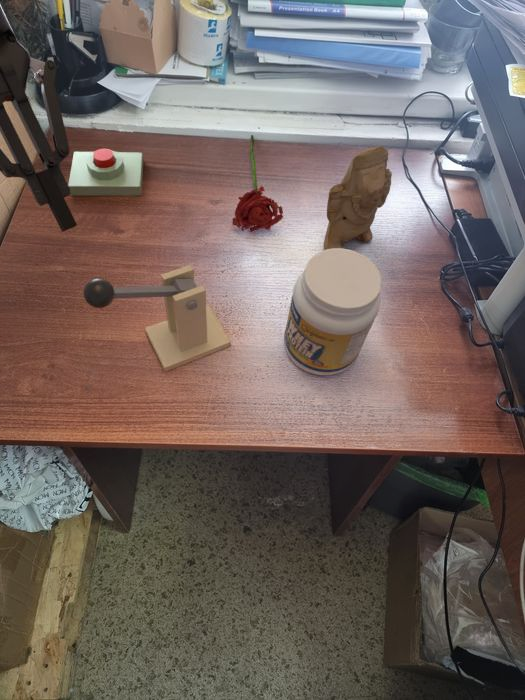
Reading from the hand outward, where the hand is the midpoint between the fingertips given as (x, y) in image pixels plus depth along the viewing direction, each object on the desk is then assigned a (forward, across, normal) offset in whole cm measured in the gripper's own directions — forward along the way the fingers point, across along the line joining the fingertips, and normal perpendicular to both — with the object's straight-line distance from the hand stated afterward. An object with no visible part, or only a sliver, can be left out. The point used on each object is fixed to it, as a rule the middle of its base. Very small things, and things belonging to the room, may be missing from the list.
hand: (69, 228), depth 59 cm
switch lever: (+11, +4, +3) cm, 13 cm away
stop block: (-7, +17, +40) cm, 44 cm away
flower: (+5, +42, +29) cm, 51 cm away
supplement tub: (+30, +28, +3) cm, 41 cm away
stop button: (-10, +17, +38) cm, 43 cm away
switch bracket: (+21, +11, +12) cm, 27 cm away
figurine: (+20, +46, +14) cm, 52 cm away
